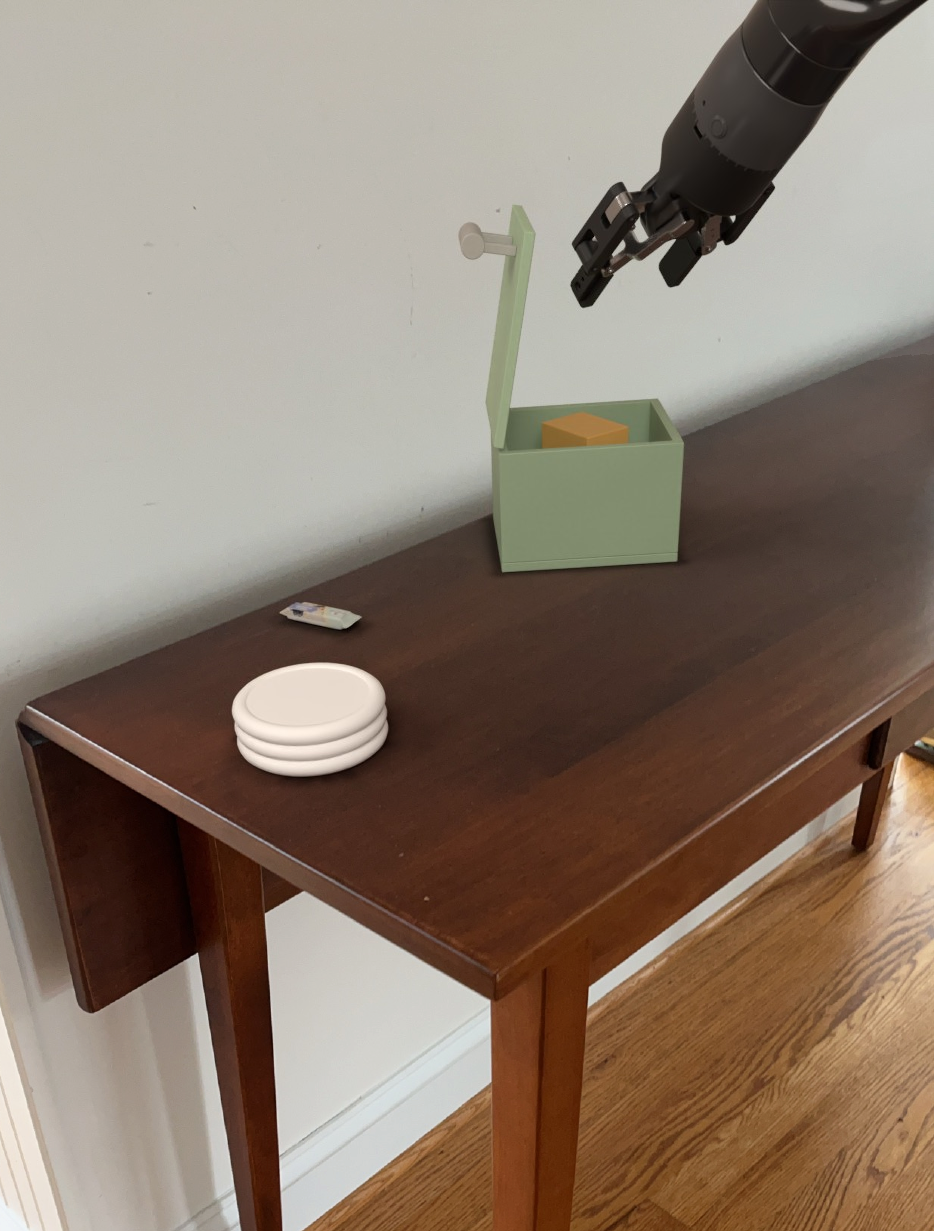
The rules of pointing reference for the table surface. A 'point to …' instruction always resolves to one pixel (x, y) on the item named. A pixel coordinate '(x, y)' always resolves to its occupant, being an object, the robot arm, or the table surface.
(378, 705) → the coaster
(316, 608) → the granola bar
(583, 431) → the carton
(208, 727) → the table surface
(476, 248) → the lid
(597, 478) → the chest
